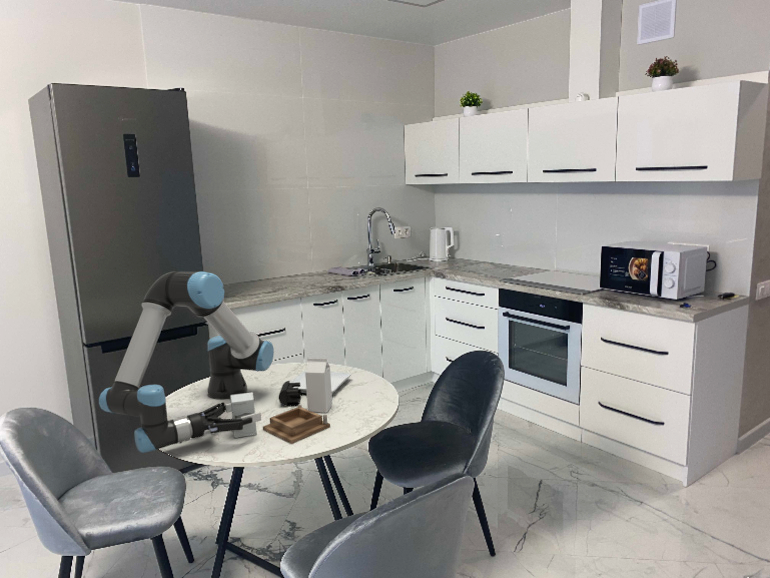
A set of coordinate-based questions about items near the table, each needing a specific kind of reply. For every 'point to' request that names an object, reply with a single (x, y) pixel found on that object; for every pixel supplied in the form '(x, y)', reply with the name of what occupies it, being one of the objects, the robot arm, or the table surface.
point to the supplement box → (243, 412)
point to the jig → (296, 424)
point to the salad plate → (336, 380)
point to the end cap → (290, 394)
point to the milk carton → (318, 385)
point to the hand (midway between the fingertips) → (252, 409)
